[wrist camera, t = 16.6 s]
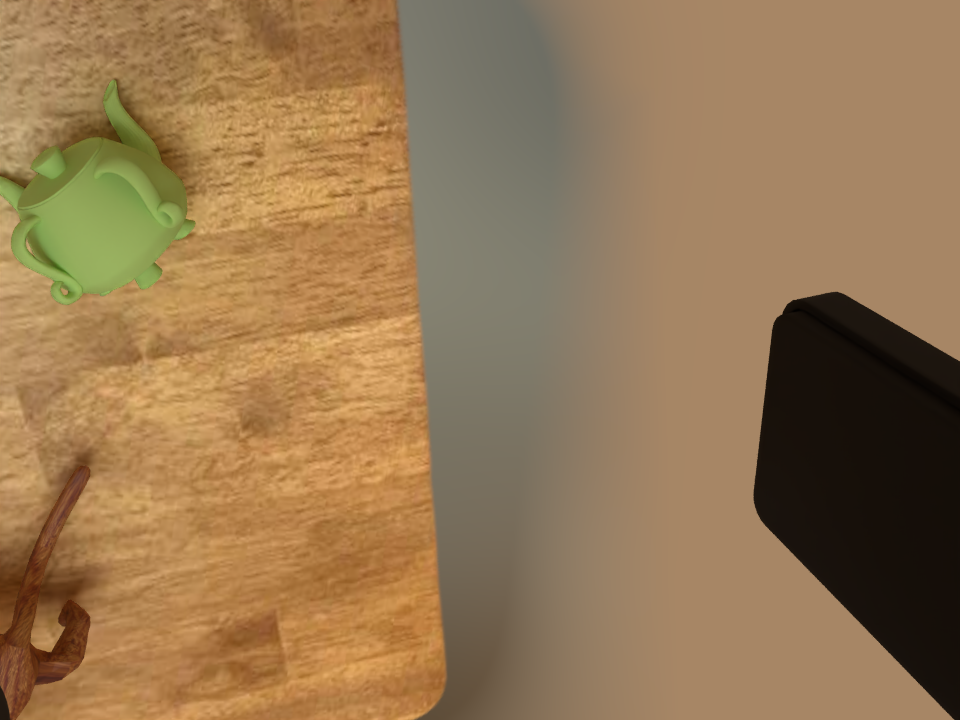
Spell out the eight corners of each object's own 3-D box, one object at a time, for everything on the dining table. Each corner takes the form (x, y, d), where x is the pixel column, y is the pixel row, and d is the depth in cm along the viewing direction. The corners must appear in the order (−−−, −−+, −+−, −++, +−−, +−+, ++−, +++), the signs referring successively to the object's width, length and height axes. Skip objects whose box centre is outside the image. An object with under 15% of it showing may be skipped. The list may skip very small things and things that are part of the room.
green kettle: (114, 78, 33) (111, 112, 28) (212, 191, 36) (224, 240, 31) (-20, 179, 33) (-47, 231, 28) (89, 283, 36) (82, 347, 31)
